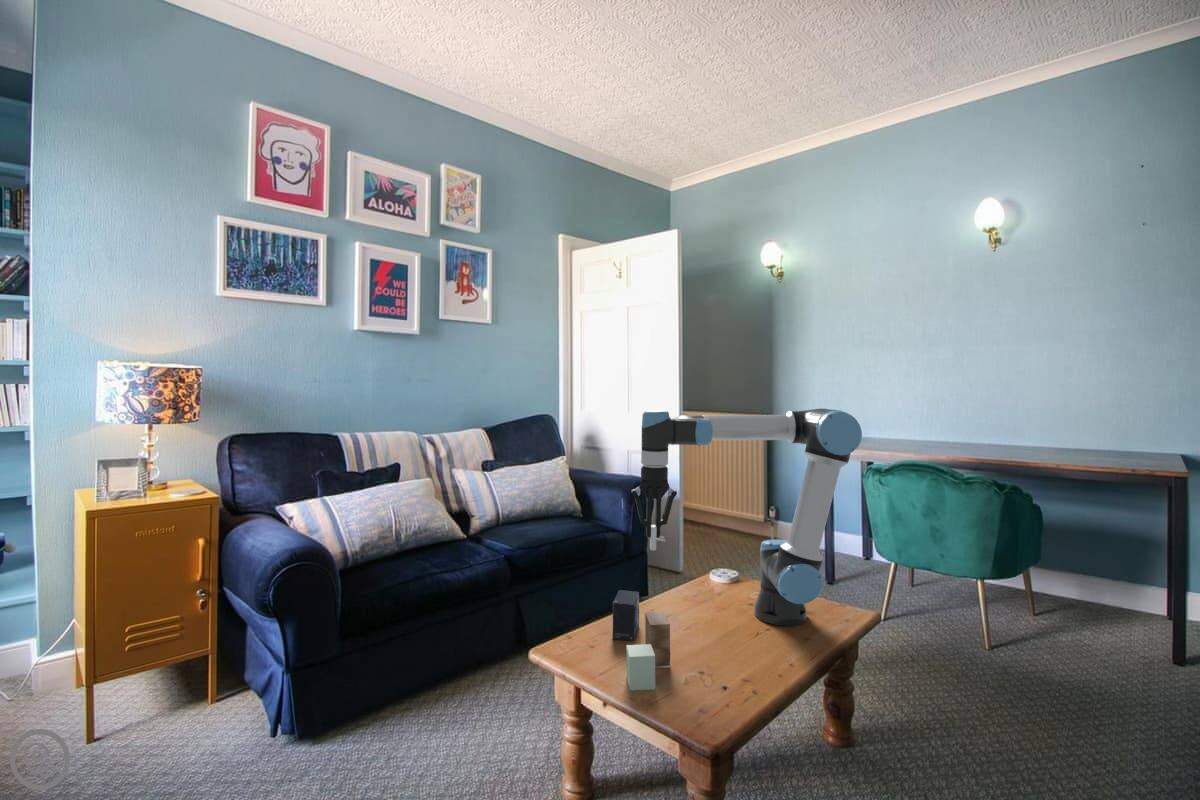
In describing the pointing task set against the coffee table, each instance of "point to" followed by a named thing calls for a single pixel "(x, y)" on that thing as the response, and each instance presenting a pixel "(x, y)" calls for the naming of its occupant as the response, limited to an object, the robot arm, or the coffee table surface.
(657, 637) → the walnut block
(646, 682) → the sage block
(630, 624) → the small box
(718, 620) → the coffee table surface
